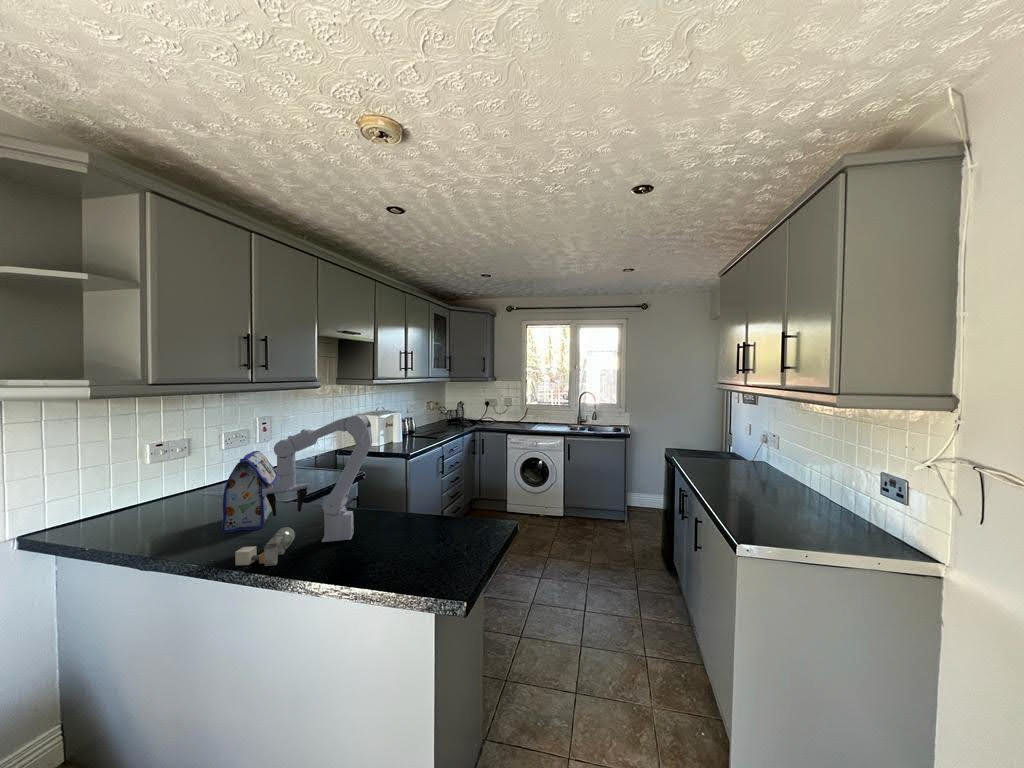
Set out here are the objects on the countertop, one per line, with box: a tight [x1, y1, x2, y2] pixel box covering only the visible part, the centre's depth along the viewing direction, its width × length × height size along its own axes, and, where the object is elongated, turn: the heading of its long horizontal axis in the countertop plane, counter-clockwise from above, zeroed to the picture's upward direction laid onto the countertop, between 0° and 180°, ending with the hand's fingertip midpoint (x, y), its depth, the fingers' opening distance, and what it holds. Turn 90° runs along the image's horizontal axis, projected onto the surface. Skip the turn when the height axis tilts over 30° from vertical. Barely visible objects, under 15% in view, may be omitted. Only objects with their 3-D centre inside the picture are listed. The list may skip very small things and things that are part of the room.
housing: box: [263, 526, 296, 567], centre depth 134 cm, size 6×17×6 cm, turn 14°
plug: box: [234, 545, 265, 566], centre depth 129 cm, size 8×4×4 cm, turn 93°
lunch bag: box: [220, 450, 277, 534], centre depth 166 cm, size 23×17×27 cm
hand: (287, 513), depth 146 cm, fingers open, 7 cm apart
